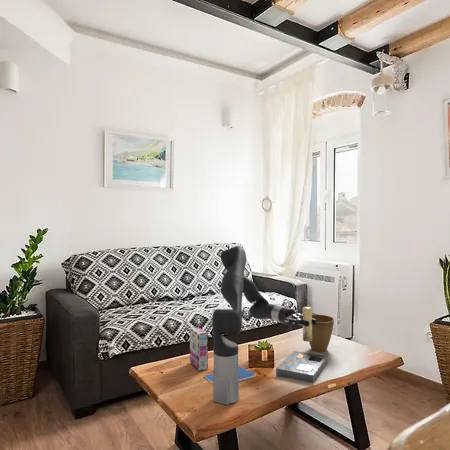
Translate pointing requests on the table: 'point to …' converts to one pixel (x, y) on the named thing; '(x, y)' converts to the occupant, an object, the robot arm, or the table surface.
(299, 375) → the grey flat block
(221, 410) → the table surface
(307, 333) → the barrel peg
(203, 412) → the table surface
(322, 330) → the plant pot
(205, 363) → the candy bar box
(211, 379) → the blue notebook
